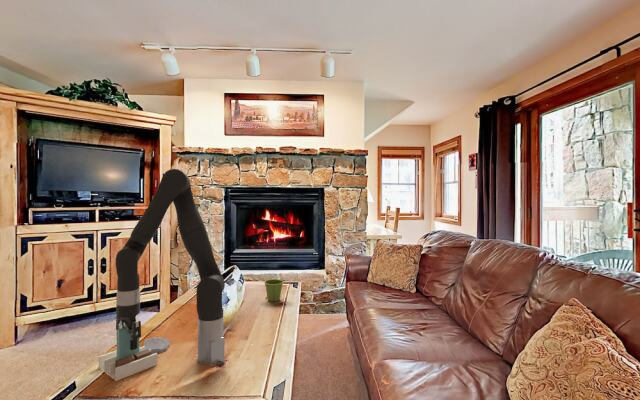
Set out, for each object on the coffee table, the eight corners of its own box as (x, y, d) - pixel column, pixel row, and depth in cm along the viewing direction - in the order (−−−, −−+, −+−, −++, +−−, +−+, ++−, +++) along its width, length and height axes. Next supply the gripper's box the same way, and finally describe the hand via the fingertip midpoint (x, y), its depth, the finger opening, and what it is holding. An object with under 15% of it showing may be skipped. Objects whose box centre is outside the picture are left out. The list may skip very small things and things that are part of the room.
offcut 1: (134, 371, 120) (134, 357, 120) (119, 377, 116) (119, 362, 116) (130, 368, 122) (130, 354, 121) (115, 374, 118) (115, 360, 117)
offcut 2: (151, 364, 125) (151, 351, 125) (137, 370, 121) (137, 356, 120) (147, 362, 126) (147, 348, 126) (133, 367, 122) (133, 353, 122)
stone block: (168, 348, 146) (143, 346, 143) (171, 336, 146) (145, 335, 143) (166, 361, 135) (138, 360, 131) (169, 349, 135) (141, 348, 132)
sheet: (139, 362, 126) (139, 325, 126) (118, 370, 120) (119, 331, 120) (136, 361, 127) (136, 323, 127) (116, 368, 122) (116, 329, 121)
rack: (157, 368, 125) (157, 353, 125) (116, 385, 114) (116, 368, 114) (138, 356, 134) (138, 343, 133) (98, 371, 122) (98, 356, 122)
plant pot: (260, 301, 204) (260, 283, 203) (269, 296, 215) (269, 278, 215) (278, 304, 200) (279, 284, 200) (286, 298, 212) (286, 280, 211)
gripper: (148, 303, 122) (148, 348, 122) (129, 295, 131) (129, 337, 131) (126, 308, 116) (126, 355, 116) (108, 300, 125) (108, 344, 125)
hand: (128, 346), depth 124 cm, fingers open, 8 cm apart
